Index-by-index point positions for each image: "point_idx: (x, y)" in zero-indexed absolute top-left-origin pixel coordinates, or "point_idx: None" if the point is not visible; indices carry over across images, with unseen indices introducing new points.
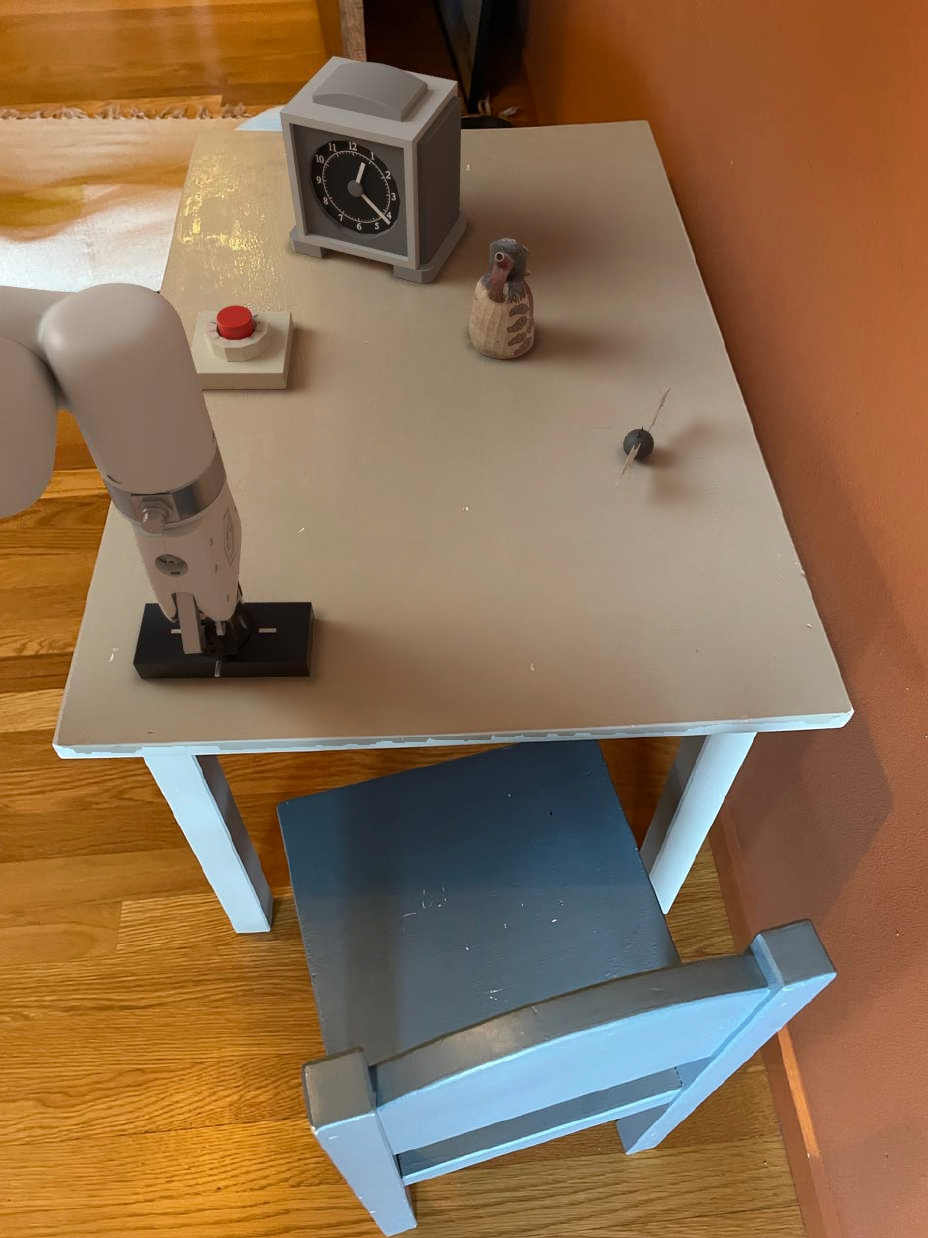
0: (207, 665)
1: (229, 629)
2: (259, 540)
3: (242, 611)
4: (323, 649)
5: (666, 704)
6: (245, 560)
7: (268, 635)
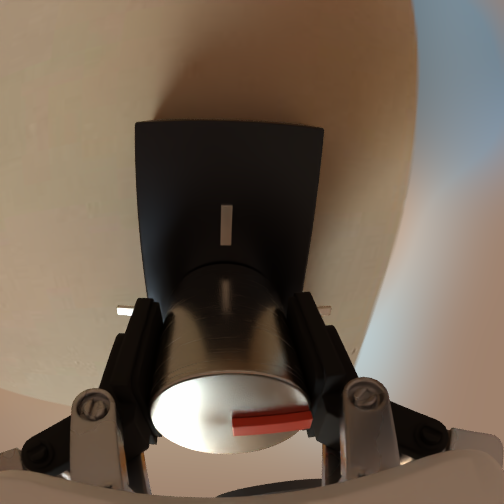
0: None
1: (341, 364)
2: (8, 250)
3: (240, 324)
4: (235, 96)
5: None
6: (44, 268)
7: (238, 221)
